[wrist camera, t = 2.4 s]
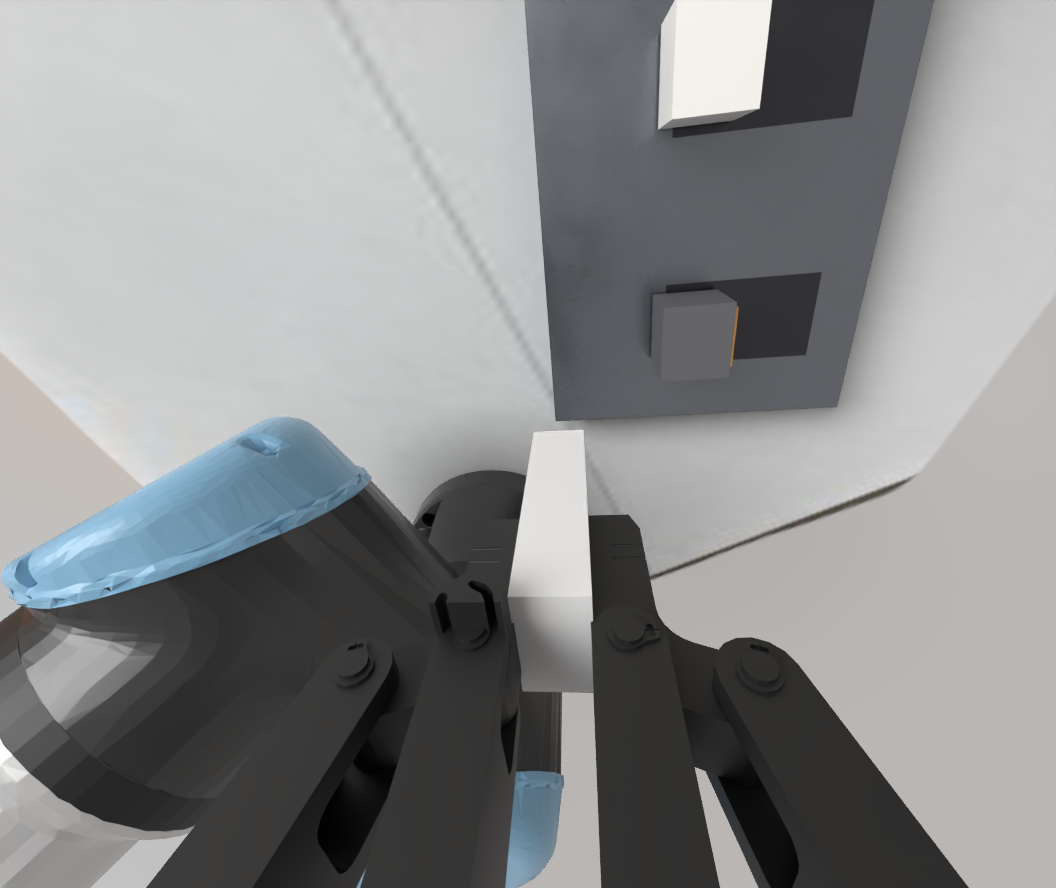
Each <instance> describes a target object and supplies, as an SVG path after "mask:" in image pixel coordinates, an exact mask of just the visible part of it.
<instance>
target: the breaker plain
mask: <svg viewBox="0 0 1056 888" xmlns="http://www.w3.org/2000/svg"><path fill="white" fill-rule="evenodd" d="M771 6H772V0H675V1H674V2H673V4H672V6H671V8H670V10H669V12H668V14H667V15H666V17H665V19H664V21H663V23H662V25H661V50H660V83H659V115H658V130H659V129H668V128H676V127H684V126H692V125H700V124H709V123H717V122H725V121H733V120H735V119H738V118H740V117H742V116H744V115H746V114H749V113H751V112H753V111H755V110H758V109H760V101H761V92H762V84H763V75H764V66H765V58H766V49H767V40H768V32H769V23H770V14H771Z"/></svg>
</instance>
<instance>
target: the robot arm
mask: <svg viewBox="0 0 1056 888" xmlns="http://www.w3.org/2000/svg"><path fill="white" fill-rule="evenodd" d="M1 581H2V583H3V584H4V586H5V587H6V588H7V589H8V590H9V592H10V594H9V597H10V598H12V599H13V600H15V601H17V604H18V605H21V607H20V608H19V609H17V610H16V611H15V612H13V613H12V614H11V615H9V616H8V617H6V618H5V619H3V620H2V621H1V622H0V888H90V887H91V886H92V885H93V884H94V883H95V882H96V881H97V880H98V879H99V878H100V877H102V875H104V874H105V873H106V872H107V871H108V870H109V869H110V868H111V867H112V866H113V865H114V864H115V863H116V862H117V861H118V860H119V859H120V858H121V857H122V856H123V855H124V854H125V853H126V852H127V851H128V850H129V849H130V848H131V847H132V846H133V845H134V844H136V843H137V841H139V840H152V839H166V838H171V837H176V836H181V835H184V834H186V833H189V832H190V833H189V834H188V835H187V837H186V838H185V839H184V841H183V842H182V843H181V844H180V846H179V847H178V848H177V849H176V851H175V852H174V853H173V854H172V856H171V857H170V858H169V859H168V861H167V862H166V863H165V865H164V866H163V867H162V868H161V870H160V871H159V872H158V873H157V875H156V876H155V877H154V879H153V880H152V881H151V882H150V884H149V885H148V886H147V888H518V887H520V886H522V885H524V884H526V883H528V882H529V881H531V880H533V879H534V878H535V877H536V876H537V875H539V873H540V872H541V871H542V869H543V868H545V866H546V865H547V863H548V862H549V860H550V859H551V857H552V855H553V853H554V849H555V845H556V840H557V831H558V821H559V811H560V803H561V793H562V789H563V787H564V777H563V775H562V776H561V723H562V720H561V719H562V692H583V693H586V692H587V693H594V715H595V740H596V766H597V791H598V814H599V839H600V865H601V888H720V886H719V881H718V876H717V872H716V867H715V862H714V858H713V853H712V848H711V843H710V838H709V834H708V829H707V824H706V819H705V815H704V810H703V805H702V800H701V796H700V791H699V787H698V782H697V777H696V772H695V768H694V767H697V768H699V769H702V770H704V771H706V773H707V775H708V778H709V780H710V782H711V784H712V786H713V788H714V790H715V793H716V795H717V797H718V799H719V801H720V804H721V806H722V808H723V810H724V813H725V815H726V817H727V819H728V821H729V824H730V826H731V828H732V830H733V832H734V835H735V837H736V839H737V841H738V843H739V845H740V848H741V850H742V852H743V854H744V856H745V858H746V861H747V863H748V865H749V868H750V869H751V872H752V874H753V876H754V879H755V881H756V883H757V885H758V887H759V888H968V886H967V885H966V884H965V882H964V881H963V880H962V878H961V877H960V876H959V874H958V873H957V872H956V871H955V869H954V868H953V867H952V865H951V864H950V863H949V861H948V860H947V859H946V858H945V856H944V855H943V854H942V852H941V851H940V850H939V848H938V847H937V846H936V844H935V843H934V842H933V840H932V839H931V838H930V836H929V835H928V834H927V833H926V832H925V830H924V829H923V827H922V826H921V825H920V823H919V822H918V821H917V820H916V818H915V817H914V816H913V814H912V813H911V812H910V810H909V809H908V808H907V807H906V805H905V804H904V803H903V801H902V800H901V799H900V797H899V796H898V795H897V793H896V792H895V791H894V789H893V788H892V787H891V786H890V784H889V783H888V782H887V780H886V779H885V778H884V776H883V775H882V774H881V772H880V771H879V770H878V768H877V767H876V766H875V764H874V763H873V762H872V761H871V759H870V758H869V757H868V755H867V754H866V753H865V751H864V750H863V749H862V748H861V746H860V745H859V744H858V742H857V741H856V740H855V738H854V737H853V736H852V735H851V733H850V732H849V731H848V729H847V728H846V727H845V725H844V724H843V723H842V721H841V720H840V719H839V717H838V716H837V715H836V713H835V712H834V711H833V710H832V708H831V707H830V706H829V704H828V703H827V702H826V700H825V699H824V698H823V696H822V695H821V694H820V692H819V691H818V690H817V689H816V687H815V686H814V685H813V683H812V682H811V681H810V679H809V678H808V677H807V675H806V674H805V673H804V672H803V670H802V669H801V668H800V666H799V665H798V664H797V663H796V662H795V661H794V660H793V659H792V658H791V657H790V656H789V655H788V654H787V653H786V652H785V651H784V650H781V649H780V648H778V647H776V646H775V645H773V644H771V643H769V642H766V641H763V640H759V639H755V638H735V639H733V640H731V641H728V642H726V643H724V644H723V645H722V647H721V648H720V649H719V650H717V649H714V648H710V647H707V646H703V645H700V644H696V643H693V642H691V641H688V640H685V639H683V638H681V637H680V636H678V635H676V634H675V633H673V632H672V631H671V630H670V629H669V628H668V627H666V626H665V625H664V623H663V622H662V620H661V619H660V617H659V616H658V613H657V610H656V607H655V602H654V597H653V592H652V587H651V582H650V577H649V572H648V567H647V562H646V560H645V553H644V548H643V543H642V538H641V533H640V528H639V527H638V526H637V524H636V523H635V522H634V521H633V520H632V519H631V517H630V516H629V515H599V516H588V507H587V487H586V468H585V448H584V430H563V431H543V432H534V433H533V439H532V445H531V452H530V458H529V464H528V471H527V476H524V475H520V474H516V473H511V472H505V471H478V472H472V473H467V474H464V475H460V476H458V477H455V478H453V479H450V480H448V481H447V482H445V483H443V484H442V485H440V486H439V487H437V488H436V489H435V490H434V491H433V492H432V493H431V494H430V495H429V496H428V497H427V498H426V500H425V501H424V502H423V504H422V506H421V508H420V510H419V512H418V514H417V516H416V518H415V520H414V522H413V525H412V524H411V523H410V522H409V521H408V519H407V518H406V517H405V516H404V515H403V514H402V513H401V512H400V511H399V510H398V509H397V508H396V507H395V506H394V505H393V503H392V502H391V501H390V500H389V499H388V498H387V497H386V496H385V495H384V494H383V493H382V492H381V491H380V490H379V488H378V487H377V486H376V485H375V484H374V483H373V482H372V481H371V476H370V475H369V474H368V473H367V471H366V470H365V469H364V468H362V467H360V466H356V465H355V464H354V463H353V462H352V461H351V460H350V459H348V458H347V457H346V456H345V455H344V454H343V453H342V452H341V451H340V450H339V449H338V448H337V447H336V446H335V445H334V444H333V443H332V442H331V441H330V440H329V439H328V438H327V437H326V436H325V435H324V434H323V433H322V432H320V431H319V430H318V429H317V428H316V427H314V426H313V425H312V424H310V423H308V422H306V421H304V420H301V419H297V418H292V417H275V418H270V419H267V420H264V421H262V422H260V423H258V424H256V425H254V426H252V427H250V428H248V429H247V430H245V431H243V432H241V433H239V434H238V435H236V436H234V437H232V438H231V439H229V440H227V441H225V442H223V443H222V444H220V445H218V446H216V447H215V448H213V449H211V450H209V451H207V452H206V453H204V454H202V455H200V456H198V457H197V458H195V459H193V460H191V461H189V462H188V463H186V464H184V465H182V466H180V467H179V468H177V469H175V470H173V471H172V472H170V473H168V474H166V475H164V476H163V477H161V478H159V479H157V480H156V481H154V482H152V483H150V484H148V485H147V486H145V487H143V488H141V489H140V490H138V491H136V492H134V493H133V494H131V495H129V496H127V497H126V498H124V499H122V500H121V501H119V502H117V503H115V504H113V505H112V506H110V507H108V508H106V509H104V510H102V511H101V512H99V513H97V514H95V515H93V516H92V517H90V518H88V519H86V520H84V521H83V522H81V523H79V524H77V525H76V526H74V527H72V528H70V529H68V530H67V531H65V532H63V533H62V534H59V535H58V536H56V537H54V538H53V539H51V540H49V541H47V542H45V543H44V544H42V545H40V546H38V547H36V548H35V549H33V550H31V551H29V552H28V553H26V554H24V555H23V556H21V557H19V558H17V559H15V560H14V561H12V562H10V563H9V564H7V566H6V567H5V568H4V569H3V571H2V573H1Z"/></svg>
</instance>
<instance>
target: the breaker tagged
mask: <svg viewBox="0 0 1056 888" xmlns="http://www.w3.org/2000/svg"><path fill="white" fill-rule="evenodd" d="M738 310H739V307H737V302H736V301H734V300H733V299H731V298H730V297H728V296H727V295H725V294H724V293H722V292H721V291H719V290H718V289H716V290H704V291H692V292H679V293H667V294H655V295H653V308H652V341H651V362H652V364H653V366H654V368H655V371H656V373H657V375H658V377H659V379H660V381H661V382H662V381H679V380H696V379H713V378H729V370H730V367H732V361H733V352H734V344H735V335H736V327H737V318H738Z"/></svg>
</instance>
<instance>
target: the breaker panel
mask: <svg viewBox="0 0 1056 888" xmlns="http://www.w3.org/2000/svg"><path fill="white" fill-rule="evenodd" d="M674 1H675V0H525V14H526V27H527V41H528V54H529V68H530V81H531V95H532V108H533V122H534V135H535V149H536V162H537V175H538V189H539V202H540V216H541V229H542V243H543V256H544V270H545V283H546V297H547V310H548V324H549V337H550V350H551V364H552V377H553V391H554V404H555V418H556V421H569V420H589V419H609V418H628V417H648V416H668V415H687V414H707V413H726V412H746V411H766V410H785V409H805V408H825V407H837V404H838V399H839V395H840V391H841V387H842V383H843V378H844V374H845V370H846V366H847V362H848V358H849V353H850V349H851V345H852V341H853V337H854V332H855V328H856V324H857V320H858V316H859V312H860V307H861V303H862V299H863V295H864V291H865V286H866V282H867V278H868V274H869V270H870V266H871V261H872V257H873V253H874V249H875V245H876V240H877V236H878V232H879V228H880V224H881V220H882V215H883V211H884V207H885V203H886V199H887V194H888V190H889V186H890V182H891V178H892V174H893V169H894V165H895V161H896V157H897V153H898V148H899V144H900V140H901V136H902V132H903V128H904V123H905V119H906V115H907V111H908V107H909V102H910V98H911V94H912V90H913V86H914V82H915V77H916V73H917V69H918V65H919V61H920V56H921V52H922V48H923V44H924V40H925V36H926V31H927V27H928V23H929V19H930V15H931V10H932V6H933V2H934V0H772V6H771V14H770V23H769V32H768V40H767V49H766V58H765V66H764V75H763V84H762V92H761V101H760V109H758V110H755V111H753V112H751V113H749V114H746V115H744V116H742V117H740V118H738V119H735V120H733V121H725V122H717V123H709V124H700V125H692V126H684V127H676V128H668V129H659V130H658V115H659V83H660V50H661V25H662V23H663V21H664V19H665V17H666V15H667V14H668V12H669V10H670V8H671V6H672V4H673V2H674ZM716 289H718V290H719V291H721V292H722V293H724V294H725V295H727V296H728V297H730V298H731V299H733V300H734V301H736V302H737V307H739V310H738V318H737V327H736V335H735V344H734V352H733V361H732V367H730V370H729V378H713V379H696V380H679V381H662V382H661V381H660V379H659V377H658V375H657V373H656V371H655V368H654V366H653V364H652V362H651V341H652V308H653V295H655V294H667V293H679V292H692V291H704V290H716Z"/></svg>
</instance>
